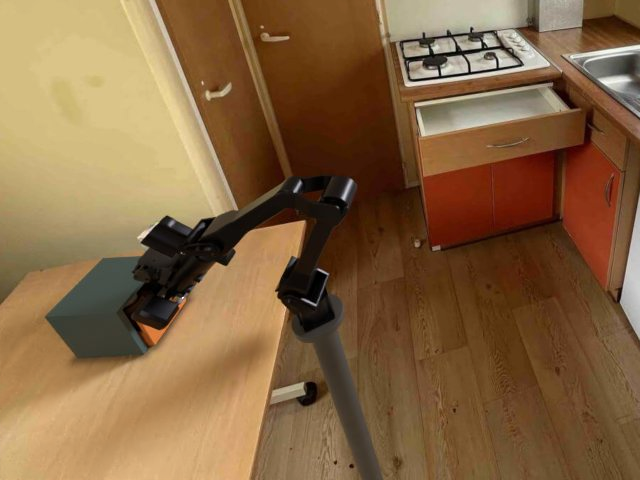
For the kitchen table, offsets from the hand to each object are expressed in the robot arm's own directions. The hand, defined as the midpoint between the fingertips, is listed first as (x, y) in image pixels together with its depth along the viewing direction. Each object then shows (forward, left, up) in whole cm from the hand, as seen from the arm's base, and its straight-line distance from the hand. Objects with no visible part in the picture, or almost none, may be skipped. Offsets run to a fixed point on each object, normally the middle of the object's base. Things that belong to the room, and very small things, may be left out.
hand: (160, 300), depth 89 cm
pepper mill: (+5, -1, -6) cm, 8 cm away
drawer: (+5, -3, -7) cm, 9 cm away
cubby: (+7, -4, -7) cm, 11 cm away
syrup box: (-1, -15, -7) cm, 17 cm away
